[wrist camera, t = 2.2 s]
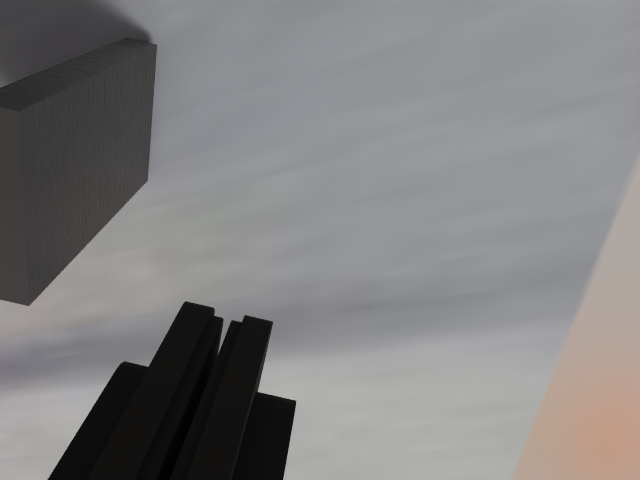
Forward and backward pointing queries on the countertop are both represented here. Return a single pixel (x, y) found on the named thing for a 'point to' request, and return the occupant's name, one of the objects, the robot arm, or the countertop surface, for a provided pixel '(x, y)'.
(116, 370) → the robot arm
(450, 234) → the countertop surface
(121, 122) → the plunger rod
